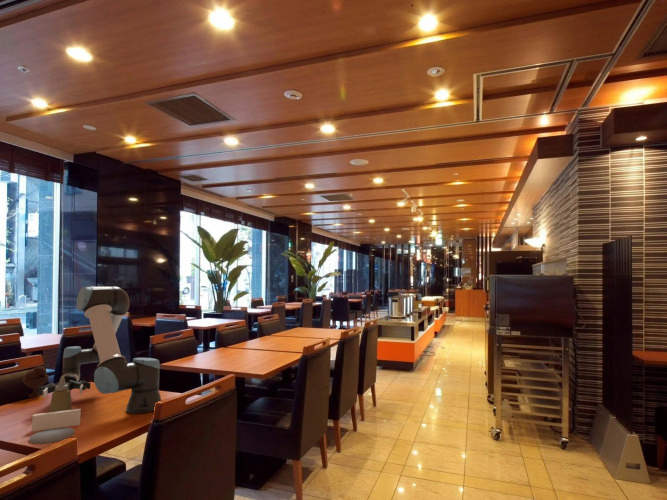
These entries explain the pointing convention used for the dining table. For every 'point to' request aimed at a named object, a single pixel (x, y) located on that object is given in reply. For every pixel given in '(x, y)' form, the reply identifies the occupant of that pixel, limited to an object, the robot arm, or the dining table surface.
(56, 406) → the squeeze bottle
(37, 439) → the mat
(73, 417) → the beige rectangular block
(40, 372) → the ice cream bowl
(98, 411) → the dining table surface
